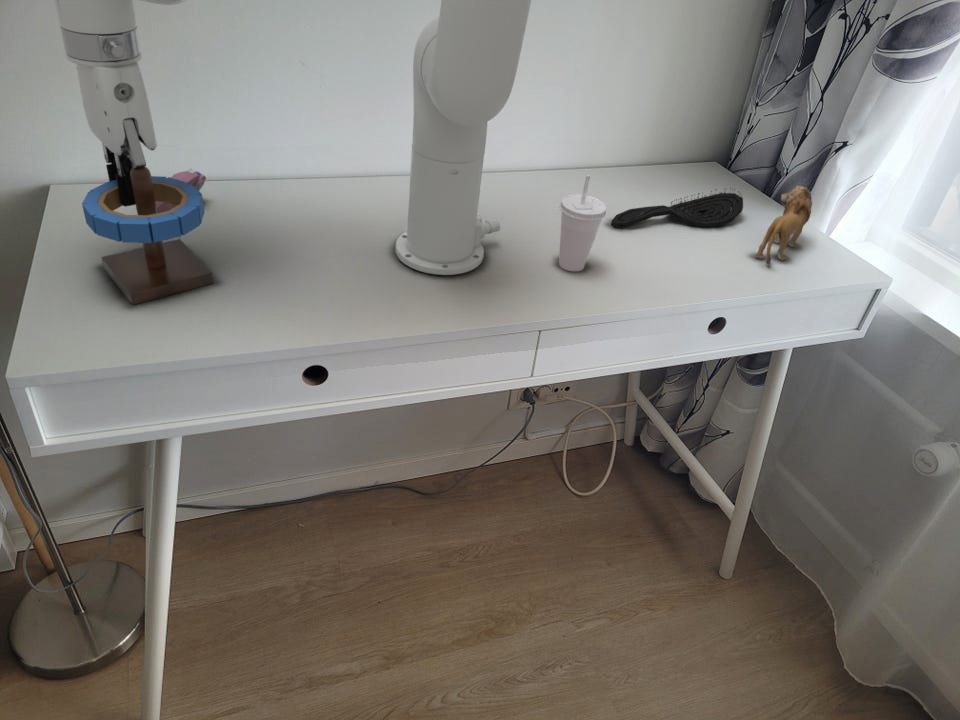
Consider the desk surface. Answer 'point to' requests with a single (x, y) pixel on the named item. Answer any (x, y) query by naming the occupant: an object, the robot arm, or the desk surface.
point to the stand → (154, 257)
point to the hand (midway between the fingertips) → (130, 197)
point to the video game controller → (187, 176)
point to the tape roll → (144, 226)
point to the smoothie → (579, 227)
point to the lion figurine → (788, 222)
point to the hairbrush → (689, 211)
